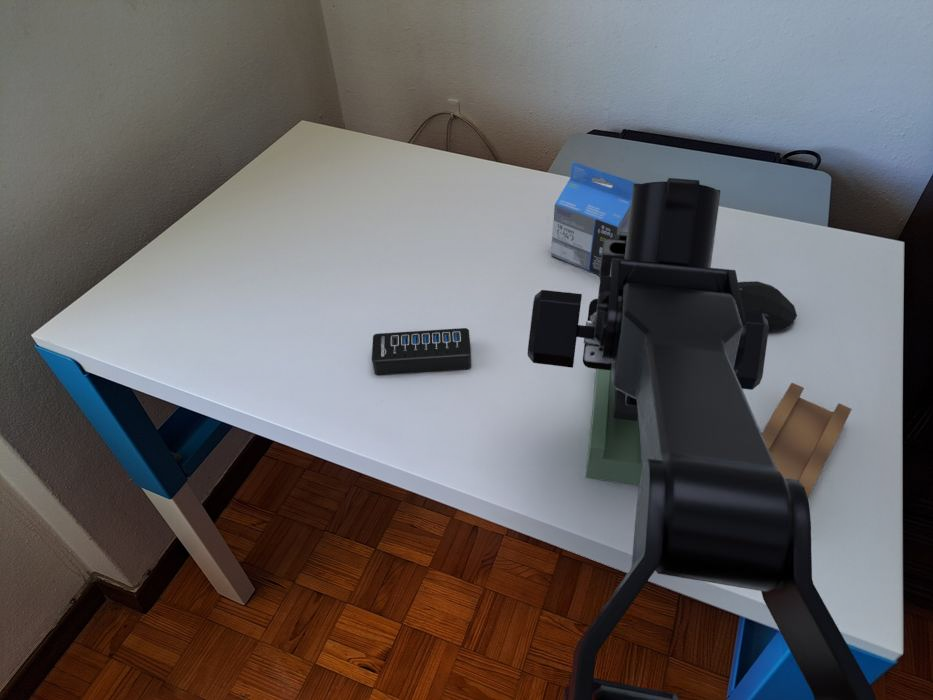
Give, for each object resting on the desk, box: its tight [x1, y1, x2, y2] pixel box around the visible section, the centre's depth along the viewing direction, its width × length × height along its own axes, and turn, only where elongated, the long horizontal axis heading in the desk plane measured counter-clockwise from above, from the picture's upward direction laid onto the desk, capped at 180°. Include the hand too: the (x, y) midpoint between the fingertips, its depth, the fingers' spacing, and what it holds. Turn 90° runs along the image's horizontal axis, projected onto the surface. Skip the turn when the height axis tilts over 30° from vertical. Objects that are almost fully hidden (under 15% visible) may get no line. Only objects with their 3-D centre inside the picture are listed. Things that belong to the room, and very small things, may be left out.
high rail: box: [585, 369, 643, 486], centre depth 70 cm, size 16×6×5 cm, turn 168°
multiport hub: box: [371, 327, 472, 376], centre depth 77 cm, size 4×11×2 cm, turn 93°
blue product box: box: [550, 160, 637, 276], centre depth 85 cm, size 9×4×12 cm, turn 54°
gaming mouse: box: [738, 280, 798, 333], centre depth 80 cm, size 6×15×4 cm, turn 84°
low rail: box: [761, 382, 853, 499], centre depth 66 cm, size 16×6×2 cm, turn 142°
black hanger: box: [614, 389, 638, 421], centre depth 64 cm, size 8×2×11 cm, turn 168°
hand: (635, 339), depth 65 cm, fingers closed on black hanger, 2 cm apart
